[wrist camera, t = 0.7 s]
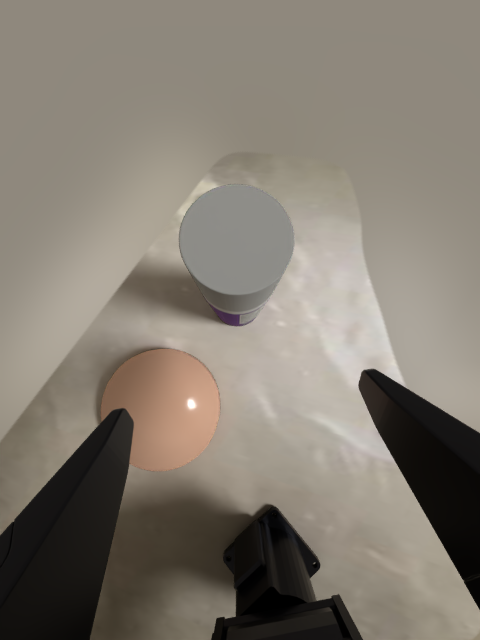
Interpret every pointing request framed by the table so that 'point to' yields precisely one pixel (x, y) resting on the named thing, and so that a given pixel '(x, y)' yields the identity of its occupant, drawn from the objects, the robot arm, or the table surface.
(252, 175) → the table surface
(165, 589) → the table surface
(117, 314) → the table surface
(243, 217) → the container
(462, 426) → the robot arm
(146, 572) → the table surface
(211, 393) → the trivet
